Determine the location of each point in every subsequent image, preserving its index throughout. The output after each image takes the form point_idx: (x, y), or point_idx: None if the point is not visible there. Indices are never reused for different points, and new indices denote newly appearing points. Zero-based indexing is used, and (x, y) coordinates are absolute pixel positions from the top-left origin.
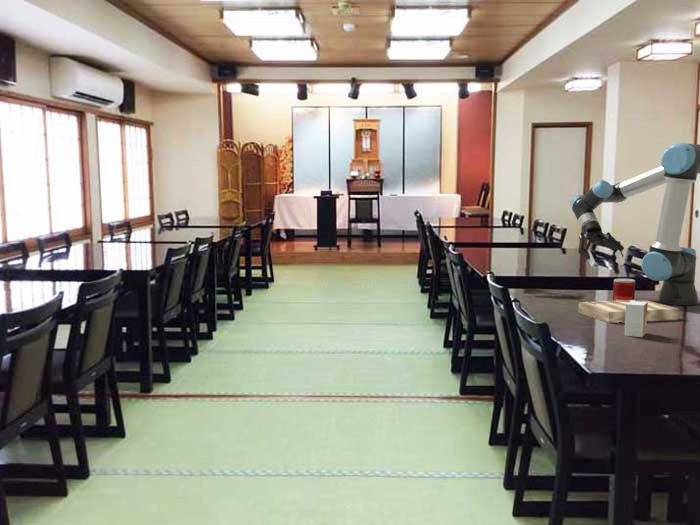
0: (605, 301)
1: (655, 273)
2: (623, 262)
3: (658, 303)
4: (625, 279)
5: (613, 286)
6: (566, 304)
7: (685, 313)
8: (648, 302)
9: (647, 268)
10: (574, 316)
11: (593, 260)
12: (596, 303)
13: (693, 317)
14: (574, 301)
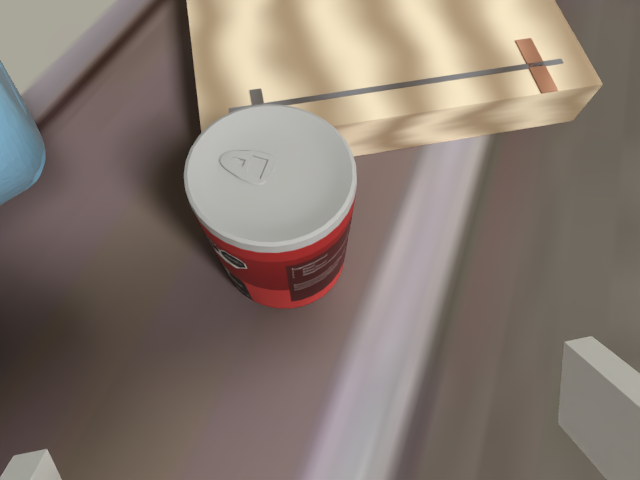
0: (450, 102)
1: (3, 71)
2: (47, 457)
3: (192, 46)
4: (234, 220)
5: (350, 220)
6: (613, 352)
7: (67, 92)
8: (227, 70)
9: (12, 91)
10: (600, 53)
11: (619, 366)
12: (513, 56)
13: (98, 22)
14: (544, 477)
